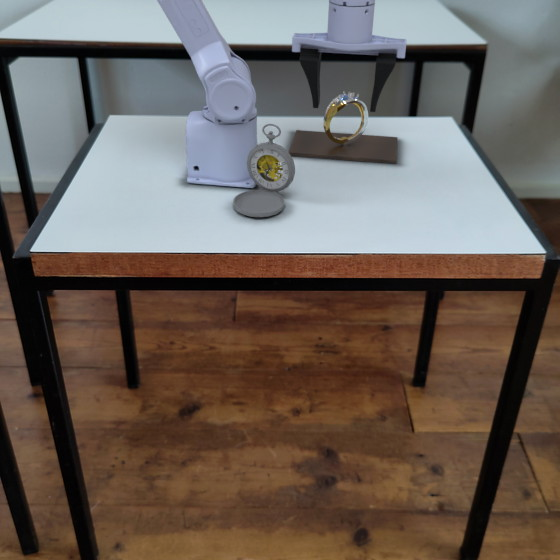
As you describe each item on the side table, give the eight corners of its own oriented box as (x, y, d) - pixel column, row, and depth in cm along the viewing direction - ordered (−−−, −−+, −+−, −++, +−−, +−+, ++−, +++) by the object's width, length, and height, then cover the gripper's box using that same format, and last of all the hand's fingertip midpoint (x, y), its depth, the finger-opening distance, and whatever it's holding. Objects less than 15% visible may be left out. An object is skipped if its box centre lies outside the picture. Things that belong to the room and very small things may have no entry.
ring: (361, 138, 108) (366, 87, 103) (369, 146, 105) (374, 94, 101) (319, 142, 106) (321, 91, 102) (326, 150, 104) (328, 98, 99)
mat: (288, 155, 103) (288, 152, 103) (296, 133, 111) (296, 129, 110) (396, 164, 101) (397, 160, 101) (397, 140, 109) (397, 137, 109)
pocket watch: (236, 221, 86) (234, 146, 81) (229, 191, 93) (227, 120, 88) (300, 217, 87) (303, 143, 82) (289, 188, 94) (291, 117, 89)
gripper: (410, -3, 89) (398, 101, 96) (298, -8, 90) (295, 94, 98) (410, 10, 83) (398, 119, 90) (290, 4, 85) (288, 111, 92)
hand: (344, 107), depth 94 cm, fingers open, 7 cm apart
